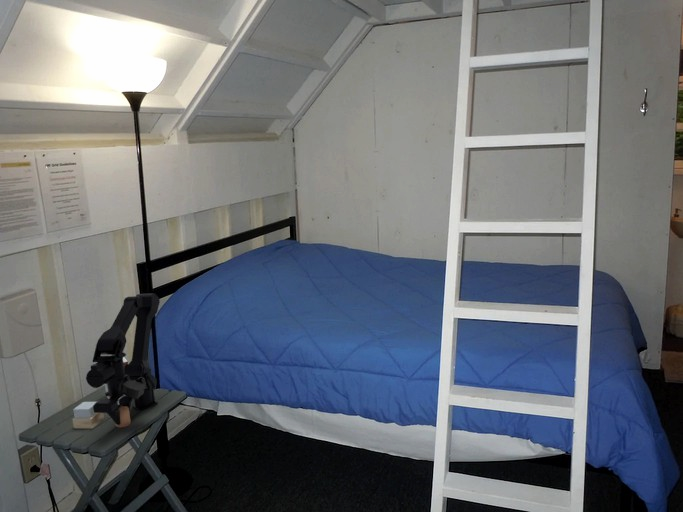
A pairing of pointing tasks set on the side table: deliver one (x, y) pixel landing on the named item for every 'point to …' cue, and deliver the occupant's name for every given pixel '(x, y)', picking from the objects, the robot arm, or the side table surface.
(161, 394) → the side table surface
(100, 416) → the oak base block
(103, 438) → the side table surface
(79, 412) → the grey-blue top block
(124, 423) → the terracotta rounded cylinder
